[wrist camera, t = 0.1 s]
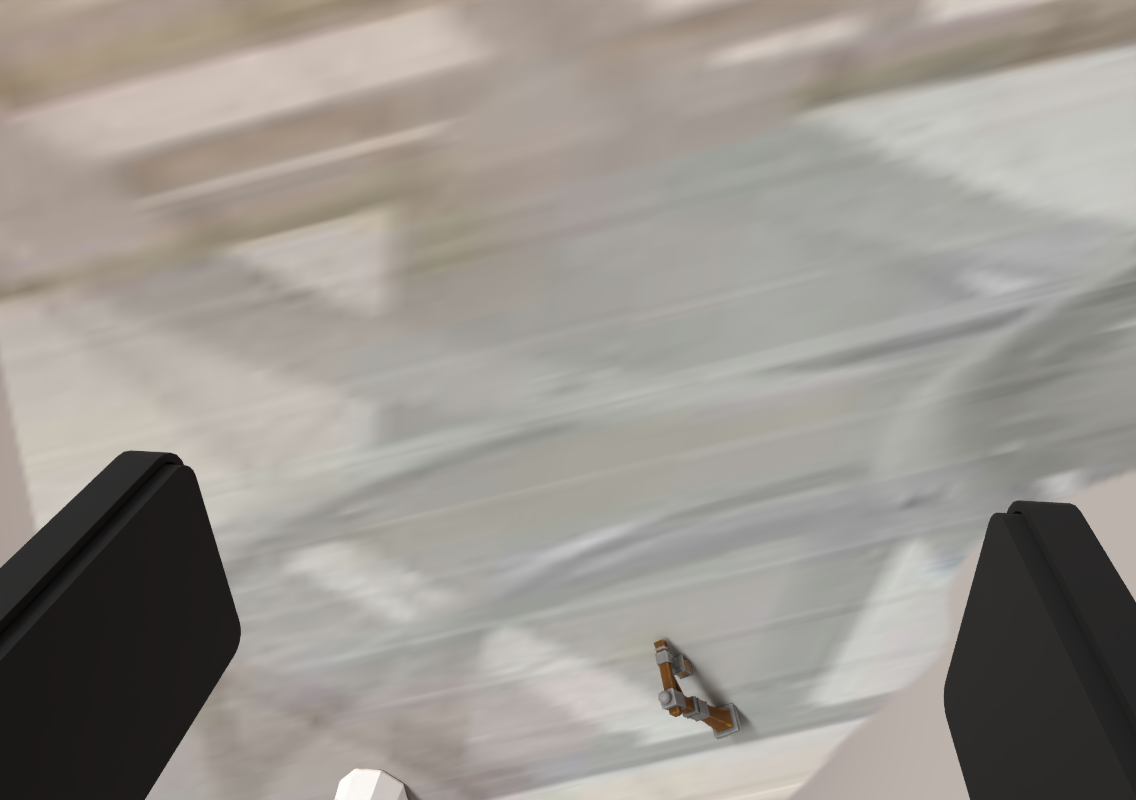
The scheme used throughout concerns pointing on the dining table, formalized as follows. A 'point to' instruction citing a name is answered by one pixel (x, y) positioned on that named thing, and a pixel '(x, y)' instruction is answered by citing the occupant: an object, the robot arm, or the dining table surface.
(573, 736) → the dining table surface
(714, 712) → the wooden post with brackets
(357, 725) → the dining table surface
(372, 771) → the salt shaker
